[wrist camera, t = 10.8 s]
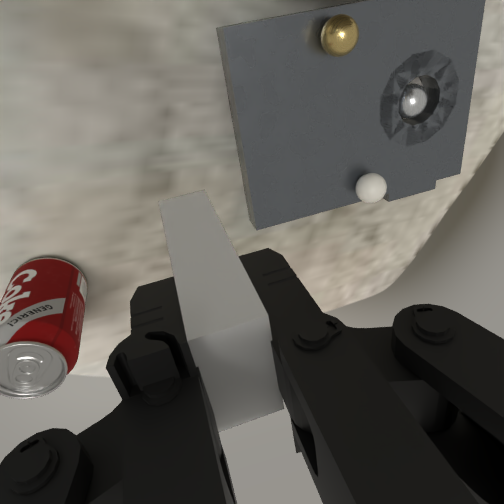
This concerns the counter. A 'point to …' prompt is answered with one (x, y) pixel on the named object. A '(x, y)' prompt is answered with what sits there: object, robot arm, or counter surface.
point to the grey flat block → (348, 103)
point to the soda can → (40, 327)
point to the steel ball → (412, 101)
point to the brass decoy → (339, 35)
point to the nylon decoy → (371, 188)
